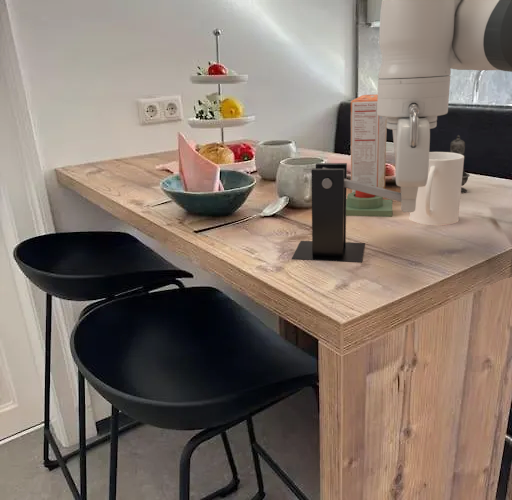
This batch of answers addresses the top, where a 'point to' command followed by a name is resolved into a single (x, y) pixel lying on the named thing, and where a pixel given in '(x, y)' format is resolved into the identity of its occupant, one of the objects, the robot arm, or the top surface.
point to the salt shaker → (459, 148)
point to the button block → (368, 206)
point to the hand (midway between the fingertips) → (407, 204)
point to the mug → (440, 190)
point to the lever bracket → (329, 218)
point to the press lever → (371, 189)
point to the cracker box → (368, 142)
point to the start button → (363, 194)
